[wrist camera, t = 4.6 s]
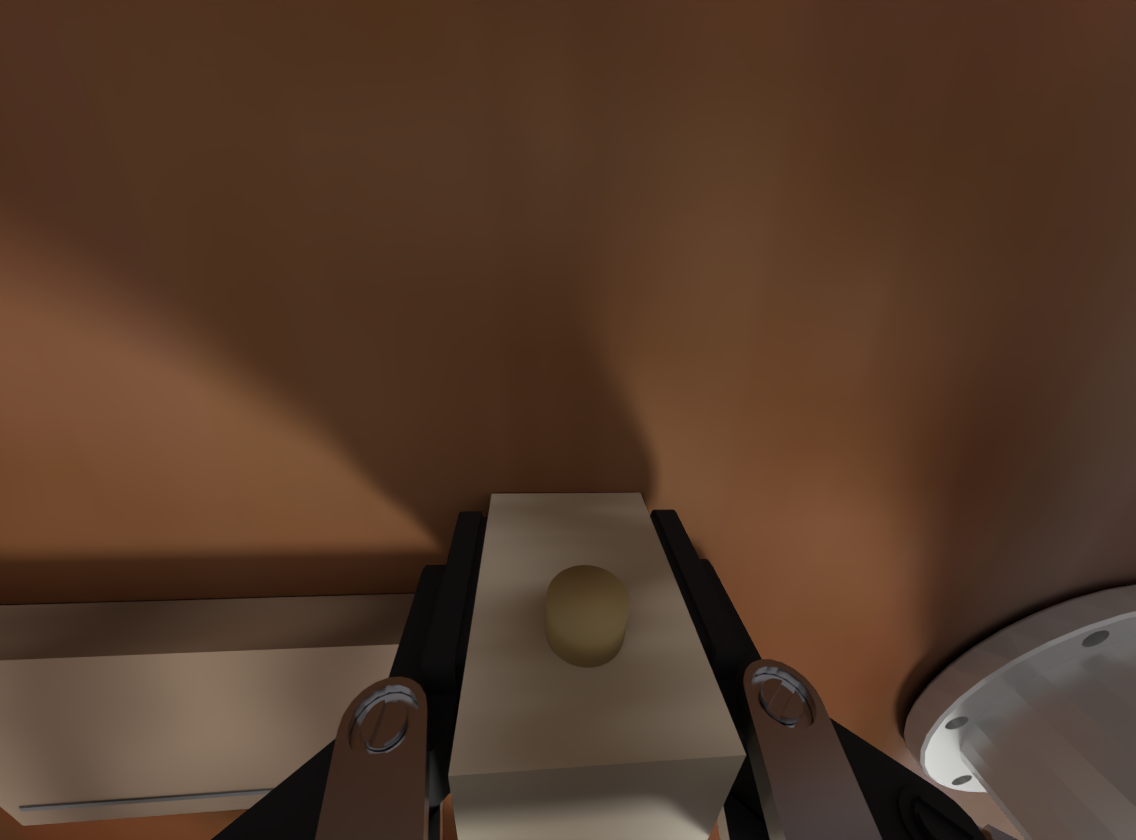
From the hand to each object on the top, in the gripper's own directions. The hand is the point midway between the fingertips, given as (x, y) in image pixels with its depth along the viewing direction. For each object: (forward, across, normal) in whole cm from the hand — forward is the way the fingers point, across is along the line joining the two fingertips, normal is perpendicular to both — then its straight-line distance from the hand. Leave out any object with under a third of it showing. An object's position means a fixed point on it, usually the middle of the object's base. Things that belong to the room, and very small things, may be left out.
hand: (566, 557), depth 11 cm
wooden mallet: (+1, 0, +4) cm, 4 cm away
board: (+1, +6, +6) cm, 9 cm away
